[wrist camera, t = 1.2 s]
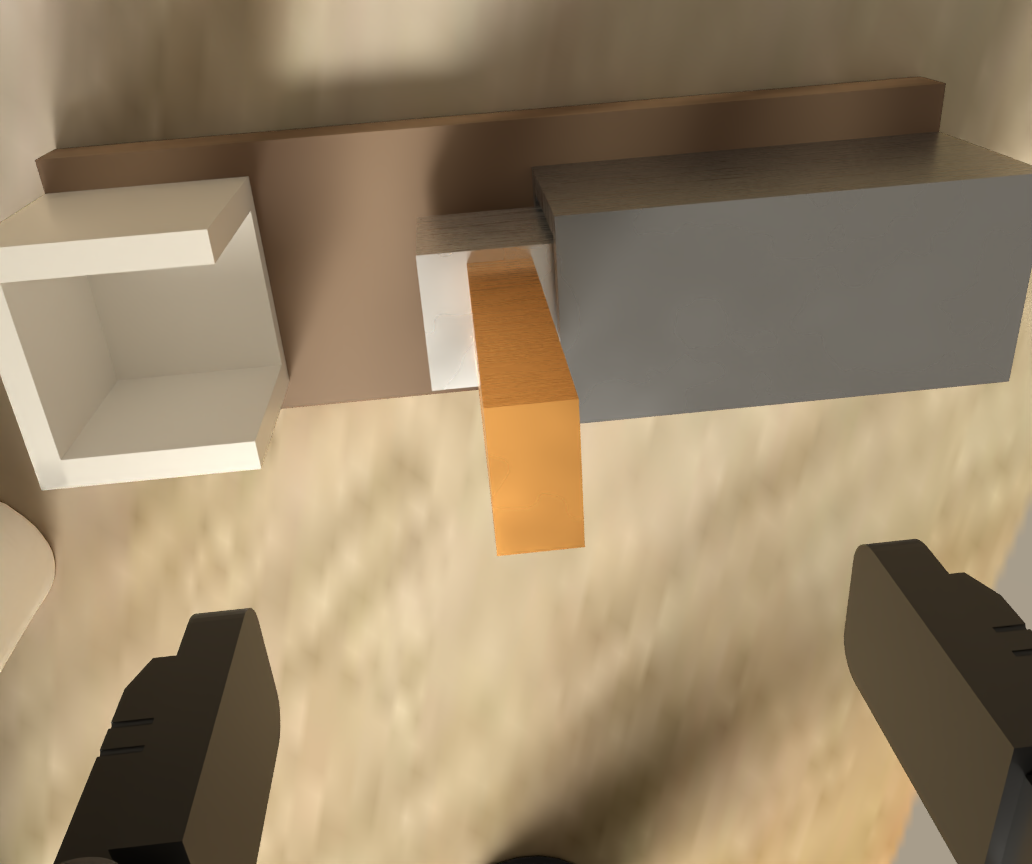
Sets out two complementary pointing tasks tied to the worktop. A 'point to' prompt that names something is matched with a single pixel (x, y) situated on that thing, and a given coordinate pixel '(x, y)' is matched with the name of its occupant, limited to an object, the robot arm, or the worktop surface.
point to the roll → (21, 576)
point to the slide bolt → (507, 365)
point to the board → (445, 199)
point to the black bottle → (535, 860)
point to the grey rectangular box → (787, 272)
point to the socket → (140, 333)
